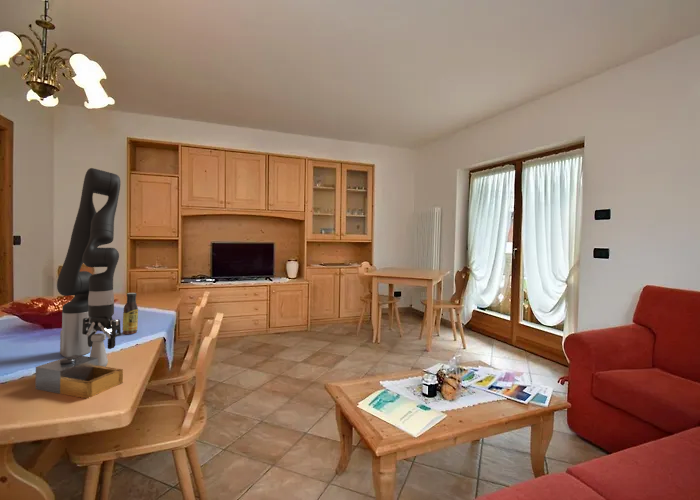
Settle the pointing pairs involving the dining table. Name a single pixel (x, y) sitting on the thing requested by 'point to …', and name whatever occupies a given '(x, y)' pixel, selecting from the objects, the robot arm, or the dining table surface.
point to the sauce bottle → (130, 315)
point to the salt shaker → (99, 349)
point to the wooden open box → (77, 376)
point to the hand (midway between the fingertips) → (101, 347)
